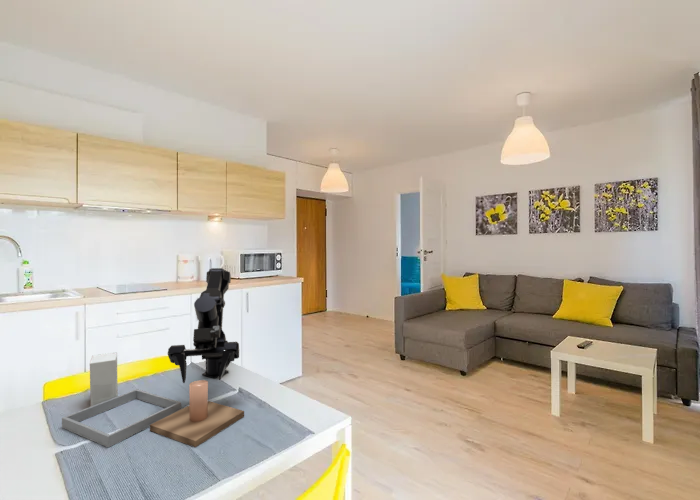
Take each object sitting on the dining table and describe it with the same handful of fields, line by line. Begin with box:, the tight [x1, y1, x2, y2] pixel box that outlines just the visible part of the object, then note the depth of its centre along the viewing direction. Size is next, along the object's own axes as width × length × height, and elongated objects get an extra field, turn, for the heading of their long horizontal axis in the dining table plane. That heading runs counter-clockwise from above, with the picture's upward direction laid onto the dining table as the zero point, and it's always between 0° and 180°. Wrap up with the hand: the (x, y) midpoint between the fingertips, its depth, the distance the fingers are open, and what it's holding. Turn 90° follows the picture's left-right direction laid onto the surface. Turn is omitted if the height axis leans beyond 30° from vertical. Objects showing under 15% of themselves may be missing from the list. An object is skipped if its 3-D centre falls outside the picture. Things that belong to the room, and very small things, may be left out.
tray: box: [61, 388, 182, 448], centre depth 94 cm, size 19×19×2 cm
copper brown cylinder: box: [188, 379, 209, 422], centre depth 92 cm, size 4×4×9 cm
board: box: [149, 400, 245, 448], centre depth 92 cm, size 16×16×2 cm
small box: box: [89, 352, 119, 407], centre depth 104 cm, size 8×6×13 cm
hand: (201, 380), depth 96 cm, fingers open, 9 cm apart
